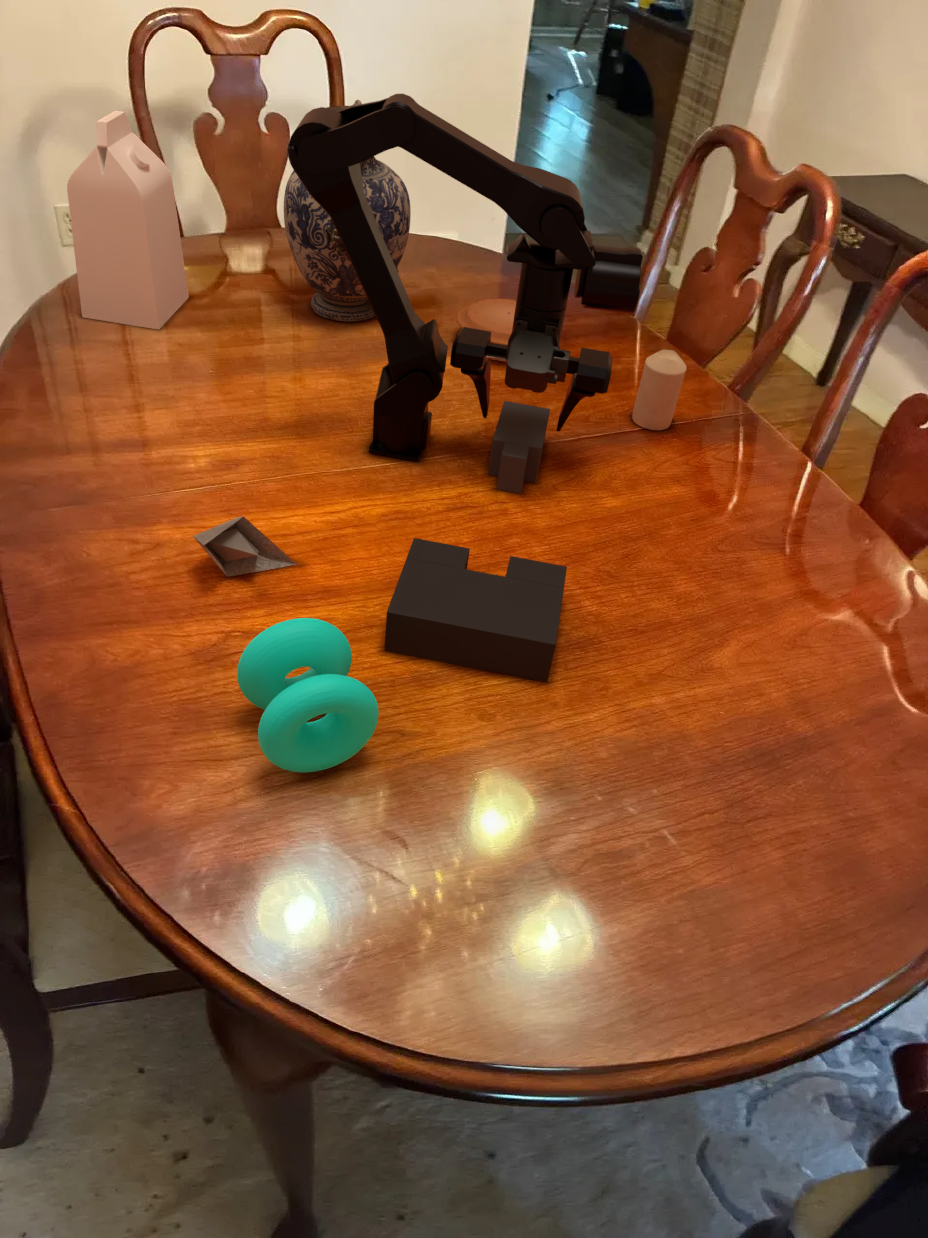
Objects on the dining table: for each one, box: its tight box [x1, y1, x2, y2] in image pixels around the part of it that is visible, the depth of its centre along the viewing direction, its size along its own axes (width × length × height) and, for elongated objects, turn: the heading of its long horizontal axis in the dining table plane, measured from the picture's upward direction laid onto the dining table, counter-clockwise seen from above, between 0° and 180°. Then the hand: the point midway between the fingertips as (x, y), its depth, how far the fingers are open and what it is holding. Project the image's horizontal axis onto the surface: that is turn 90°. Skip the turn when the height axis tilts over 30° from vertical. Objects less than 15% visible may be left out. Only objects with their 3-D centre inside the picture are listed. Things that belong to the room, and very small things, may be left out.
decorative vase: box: [283, 99, 412, 323], centre depth 137 cm, size 21×19×28 cm
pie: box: [456, 298, 517, 345], centre depth 141 cm, size 16×16×5 cm
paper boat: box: [192, 516, 298, 578], centre depth 94 cm, size 12×6×9 cm
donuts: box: [236, 617, 380, 773], centre depth 77 cm, size 10×10×10 cm
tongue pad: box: [487, 400, 551, 495], centre depth 115 cm, size 6×13×5 cm, turn 170°
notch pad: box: [384, 537, 568, 683], centre depth 92 cm, size 16×12×5 cm
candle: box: [631, 349, 687, 431], centre depth 126 cm, size 6×6×10 cm
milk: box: [66, 110, 190, 330], centre depth 130 cm, size 12×12×26 cm
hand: (521, 423), depth 115 cm, fingers open, 9 cm apart
